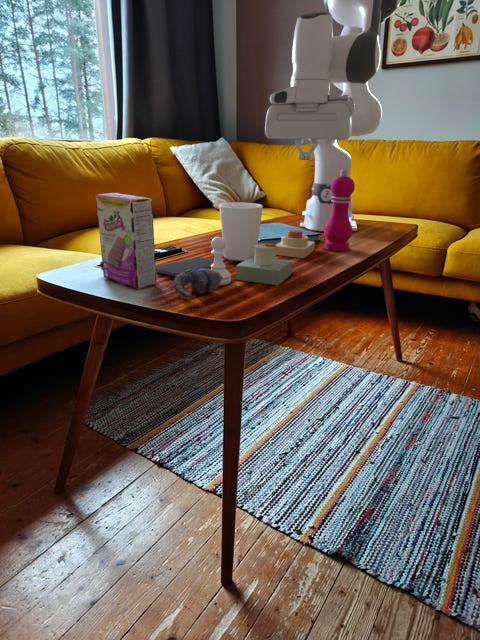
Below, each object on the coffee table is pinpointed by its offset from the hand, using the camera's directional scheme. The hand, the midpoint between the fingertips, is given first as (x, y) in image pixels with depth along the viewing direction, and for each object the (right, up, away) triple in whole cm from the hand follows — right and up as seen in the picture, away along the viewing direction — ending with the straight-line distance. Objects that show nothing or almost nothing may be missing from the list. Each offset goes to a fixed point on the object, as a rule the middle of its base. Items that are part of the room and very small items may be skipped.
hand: (305, 159), depth 108 cm
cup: (-16, -25, -2) cm, 29 cm away
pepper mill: (+10, -20, +11) cm, 25 cm away
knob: (-11, -27, -16) cm, 33 cm away
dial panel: (-11, -30, -15) cm, 35 cm away
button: (-2, -18, +5) cm, 19 cm away
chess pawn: (-20, -31, -19) cm, 42 cm away
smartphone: (-27, -28, -10) cm, 40 cm away
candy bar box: (-38, -31, -20) cm, 53 cm away
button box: (-2, -21, +7) cm, 22 cm away
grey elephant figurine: (-23, -34, -25) cm, 48 cm away
